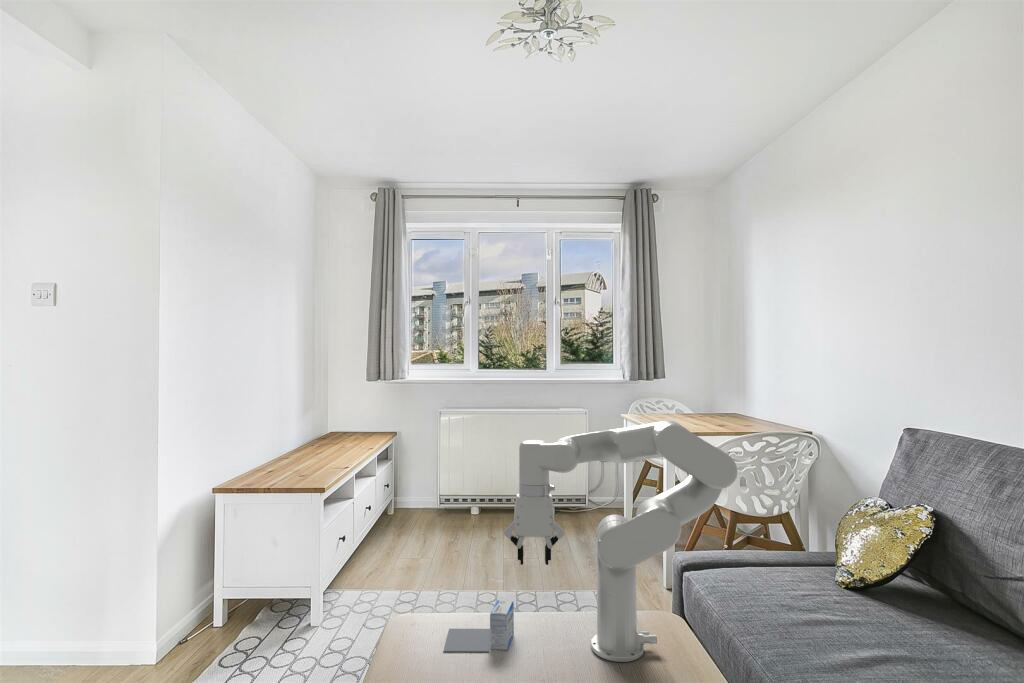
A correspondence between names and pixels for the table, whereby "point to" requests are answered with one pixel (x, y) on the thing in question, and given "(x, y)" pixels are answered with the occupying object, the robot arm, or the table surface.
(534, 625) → the table surface
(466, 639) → the mat
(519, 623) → the table surface
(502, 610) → the medicine box
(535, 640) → the table surface
